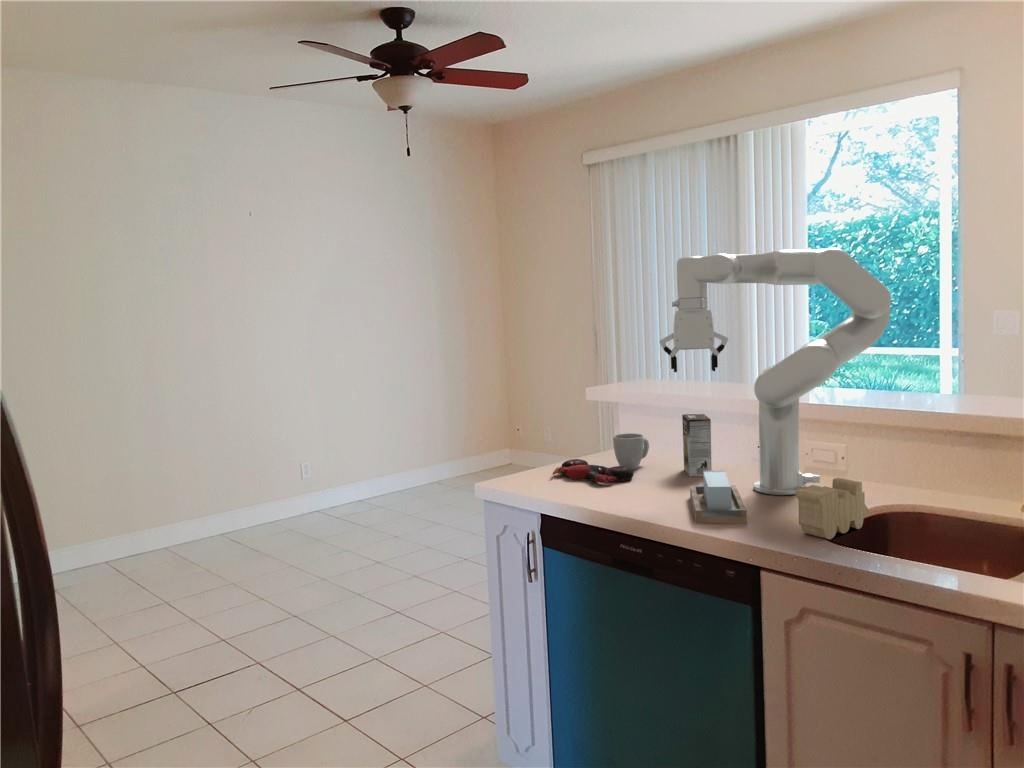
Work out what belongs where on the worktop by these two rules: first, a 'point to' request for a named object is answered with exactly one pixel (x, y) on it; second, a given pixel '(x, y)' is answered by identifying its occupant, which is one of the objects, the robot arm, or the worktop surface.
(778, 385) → the robot arm
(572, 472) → the toy motorcycle
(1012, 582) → the worktop surface
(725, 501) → the light blue block
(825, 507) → the toy train
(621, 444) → the mug
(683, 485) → the worktop surface
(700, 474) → the coffee box
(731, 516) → the cradle
